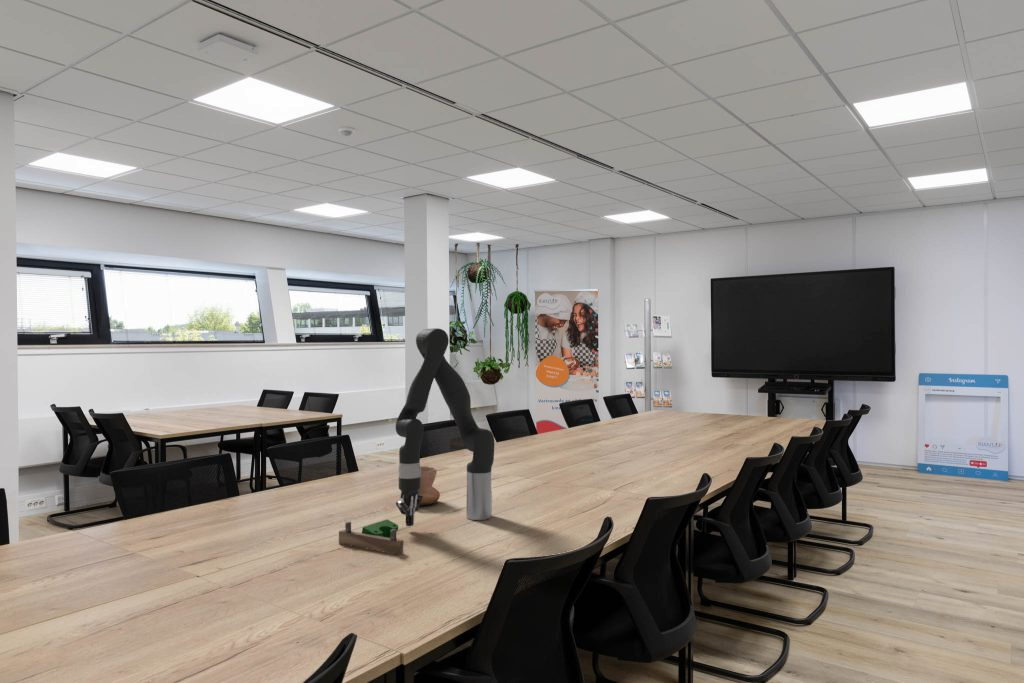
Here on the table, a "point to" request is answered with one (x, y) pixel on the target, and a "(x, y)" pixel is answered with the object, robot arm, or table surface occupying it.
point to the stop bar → (371, 540)
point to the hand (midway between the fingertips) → (409, 525)
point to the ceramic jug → (428, 485)
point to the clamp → (380, 528)
